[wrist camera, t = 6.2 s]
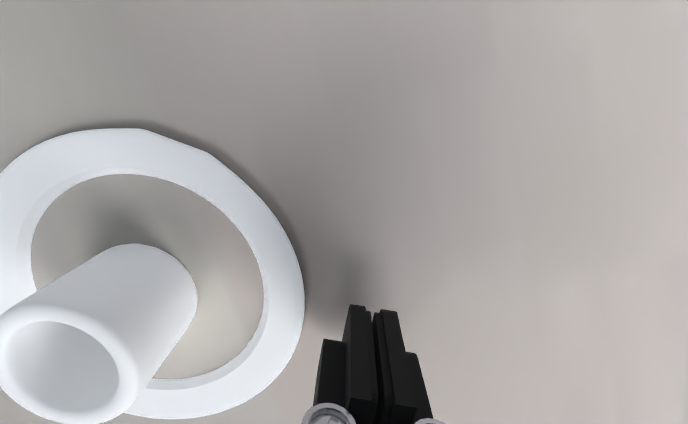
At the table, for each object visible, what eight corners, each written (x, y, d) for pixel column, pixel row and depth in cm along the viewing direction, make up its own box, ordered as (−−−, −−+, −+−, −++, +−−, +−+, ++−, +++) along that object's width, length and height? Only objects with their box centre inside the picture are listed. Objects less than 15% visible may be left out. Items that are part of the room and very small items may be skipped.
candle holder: (180, 56, 11) (72, 28, 7) (362, 337, 14) (366, 437, 10) (-74, 228, 13) (-276, 290, 9) (135, 439, 16) (60, 557, 12)
